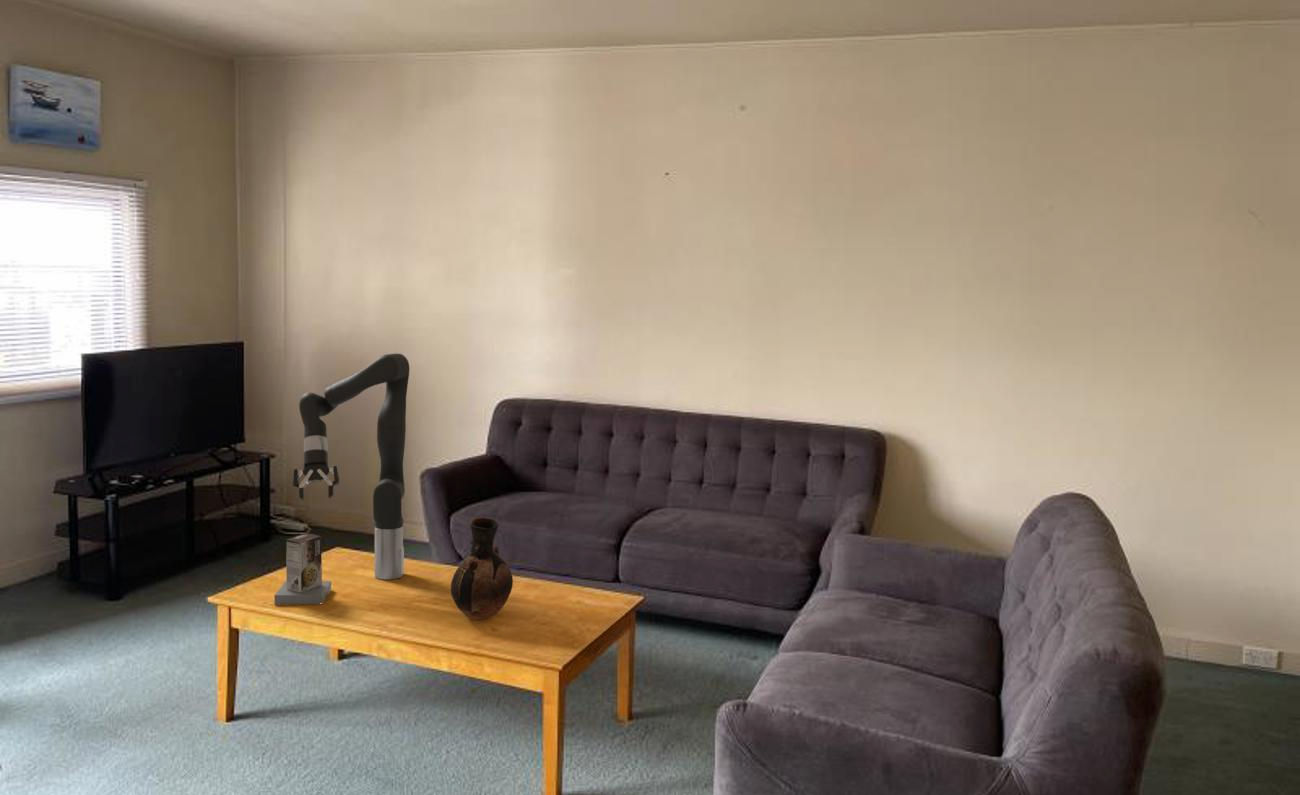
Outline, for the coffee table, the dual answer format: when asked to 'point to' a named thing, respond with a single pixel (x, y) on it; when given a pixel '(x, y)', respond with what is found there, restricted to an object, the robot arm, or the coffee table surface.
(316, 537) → the coffee box
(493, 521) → the ceramic vessel
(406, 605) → the coffee table surface
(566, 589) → the coffee table surface
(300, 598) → the plinth
